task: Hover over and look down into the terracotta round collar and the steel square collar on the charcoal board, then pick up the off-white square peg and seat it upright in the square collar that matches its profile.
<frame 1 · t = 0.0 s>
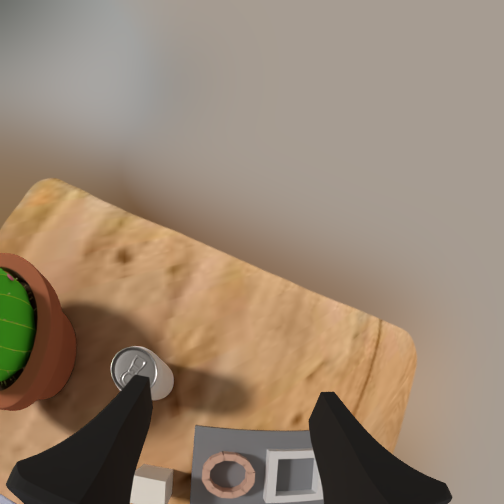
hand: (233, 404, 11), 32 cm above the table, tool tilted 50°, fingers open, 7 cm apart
socket board: (261, 472, 34), on the table
potted cactus: (36, 349, 38), on the table
square peg: (157, 479, 31), on the table
can: (153, 379, 39), on the table
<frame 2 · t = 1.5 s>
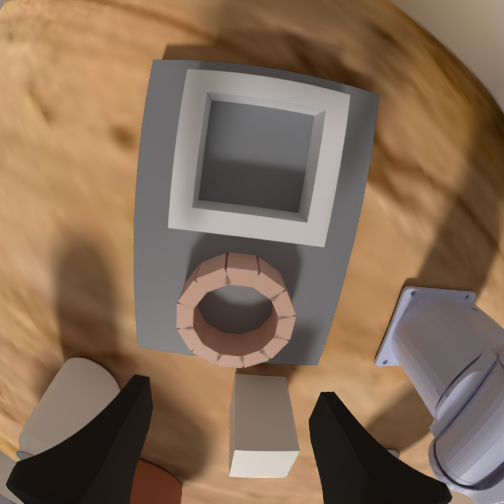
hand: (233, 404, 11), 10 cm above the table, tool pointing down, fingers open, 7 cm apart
socket board: (245, 224, 19), on the table
potted cactus: (126, 474, 31), on the table
square peg: (256, 392, 24), on the table
can: (92, 378, 24), on the table
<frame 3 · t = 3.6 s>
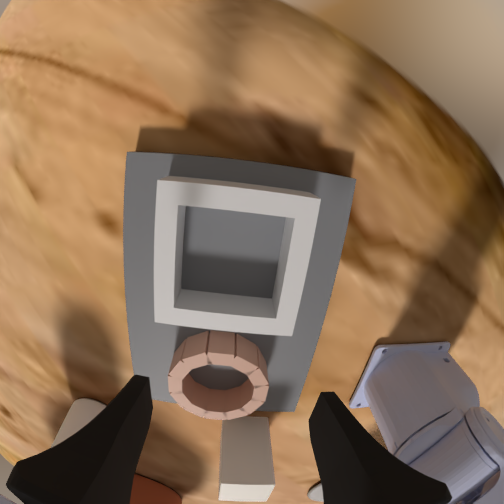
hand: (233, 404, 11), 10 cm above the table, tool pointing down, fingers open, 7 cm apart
socket board: (225, 302, 21), on the table
chalice: (344, 484, 34), on the table
potted cactus: (130, 487, 33), on the table
square peg: (243, 428, 26), on the table
can: (99, 414, 26), on the table
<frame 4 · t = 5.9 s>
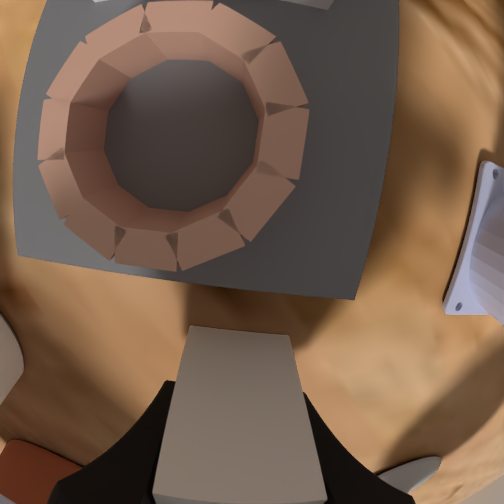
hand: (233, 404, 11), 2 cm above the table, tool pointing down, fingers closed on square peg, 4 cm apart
socket board: (206, 16, 8), on the table
chalice: (388, 483, 21), on the table
potted cactus: (74, 482, 20), on the table
square peg: (234, 367, 13), on the table, touching gripper
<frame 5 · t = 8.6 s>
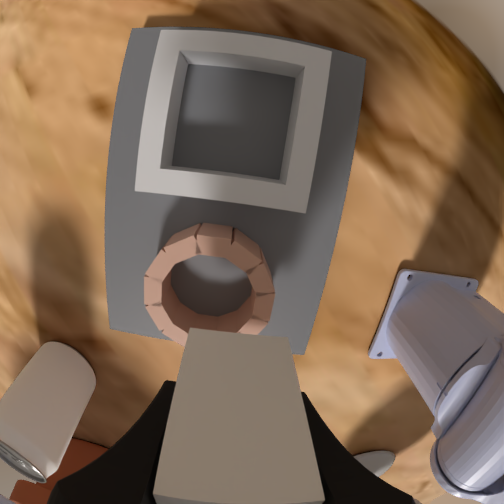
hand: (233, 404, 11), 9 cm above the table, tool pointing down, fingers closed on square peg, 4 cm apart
socket board: (222, 194, 18), on the table
chalice: (353, 470, 30), on the table
potted cactus: (108, 469, 29), on the table
square peg: (234, 369, 13), point 7 cm above the table, touching gripper
can: (69, 365, 22), on the table
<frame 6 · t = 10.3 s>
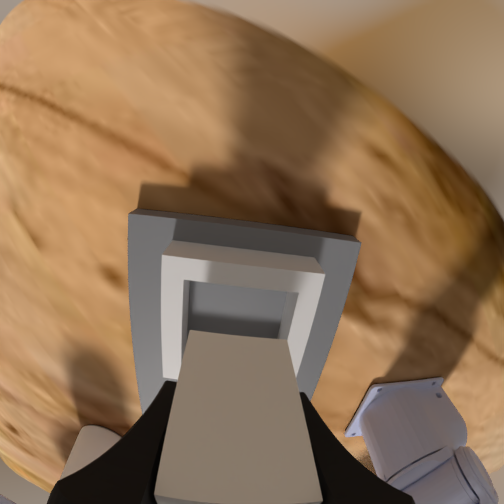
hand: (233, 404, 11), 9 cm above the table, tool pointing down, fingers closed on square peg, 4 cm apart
socket board: (229, 351, 21), on the table
square peg: (233, 371, 14), point 7 cm above the table, touching gripper
can: (106, 438, 26), on the table
when the fingers open (5 cm above the table, at t = 11.6 s): square peg drops 1 cm, resting on socket board.
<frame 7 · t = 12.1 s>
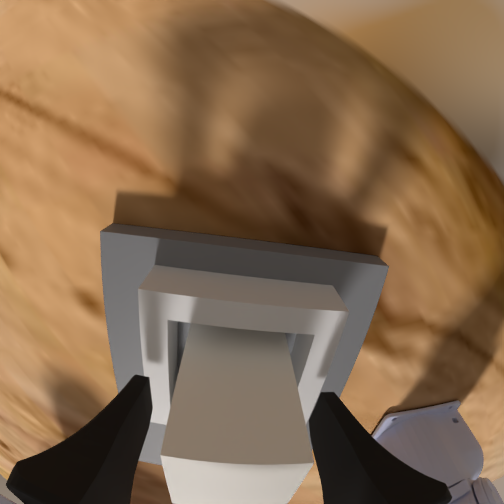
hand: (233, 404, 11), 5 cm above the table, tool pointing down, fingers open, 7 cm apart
socket board: (227, 387, 18), on the table
square peg: (233, 353, 15), point 1 cm above the table, touching socket board
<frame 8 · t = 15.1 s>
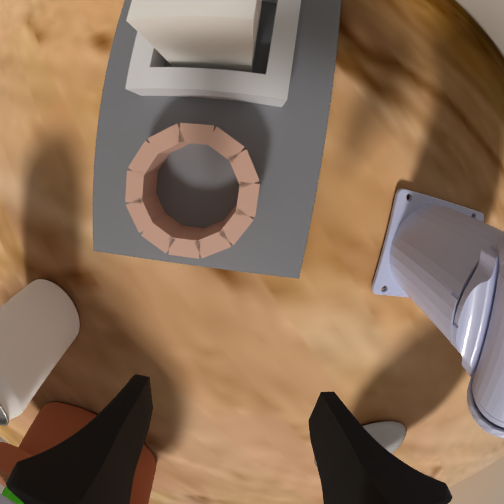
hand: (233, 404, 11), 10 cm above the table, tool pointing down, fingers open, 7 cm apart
socket board: (211, 106, 17), on the table
chalice: (360, 446, 29), on the table
potted cactus: (97, 442, 29), on the table
square peg: (218, 40, 14), point 1 cm above the table, touching socket board
can: (54, 308, 22), on the table
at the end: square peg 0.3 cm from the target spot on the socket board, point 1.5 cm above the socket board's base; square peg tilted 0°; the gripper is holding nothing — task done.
